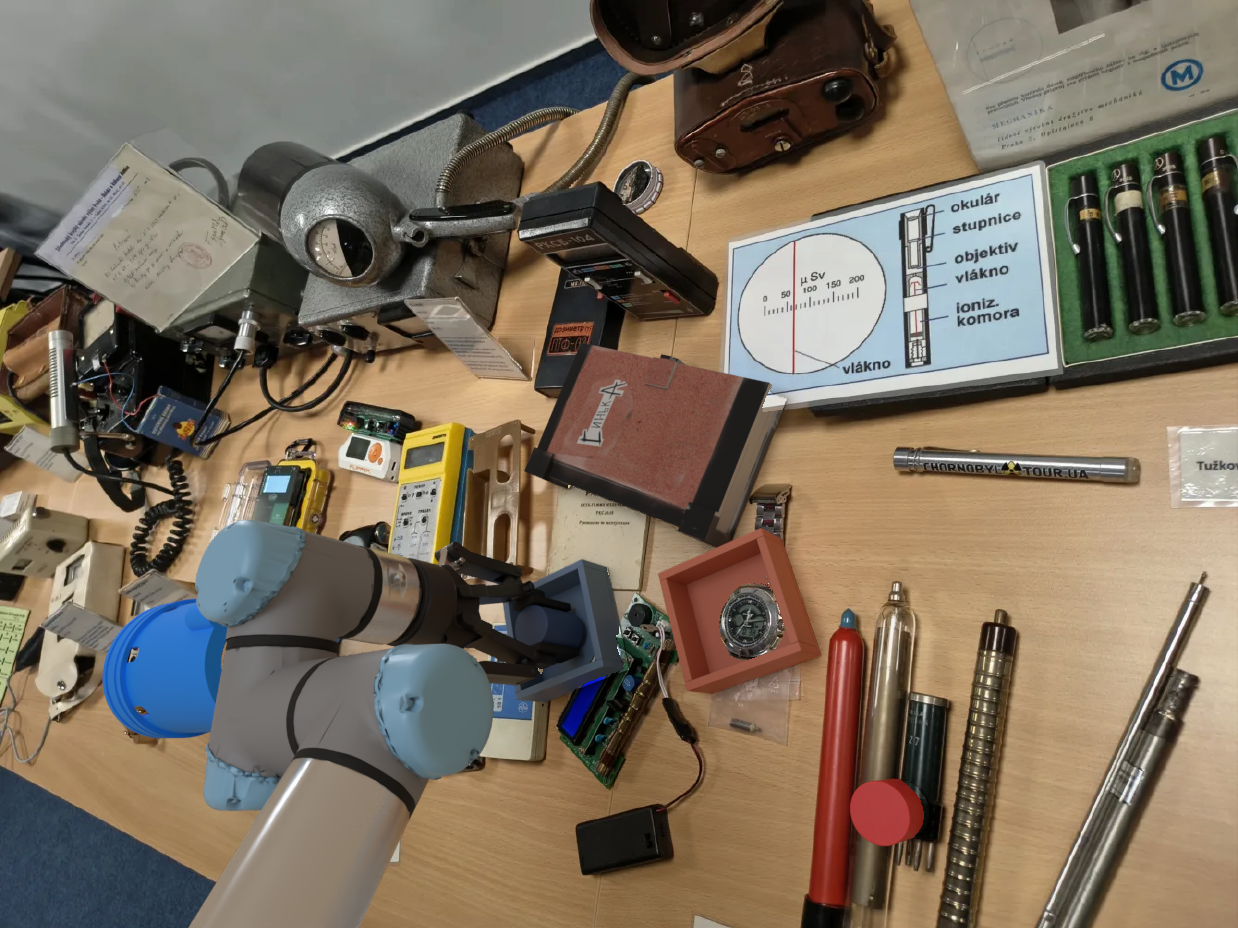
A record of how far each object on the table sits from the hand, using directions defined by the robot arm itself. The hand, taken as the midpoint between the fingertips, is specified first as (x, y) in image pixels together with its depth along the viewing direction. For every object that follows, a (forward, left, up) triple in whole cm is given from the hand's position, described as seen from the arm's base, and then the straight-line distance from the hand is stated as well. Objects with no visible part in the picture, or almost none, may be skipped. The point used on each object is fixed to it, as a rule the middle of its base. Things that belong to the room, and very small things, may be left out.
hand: (565, 633), depth 82 cm
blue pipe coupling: (+12, +53, -2) cm, 54 cm away
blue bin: (0, 0, -2) cm, 2 cm away
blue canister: (0, 0, 0) cm, 0 cm away
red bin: (-5, -20, -2) cm, 21 cm away
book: (+17, -16, -2) cm, 24 cm away
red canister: (-24, -28, -2) cm, 37 cm away
